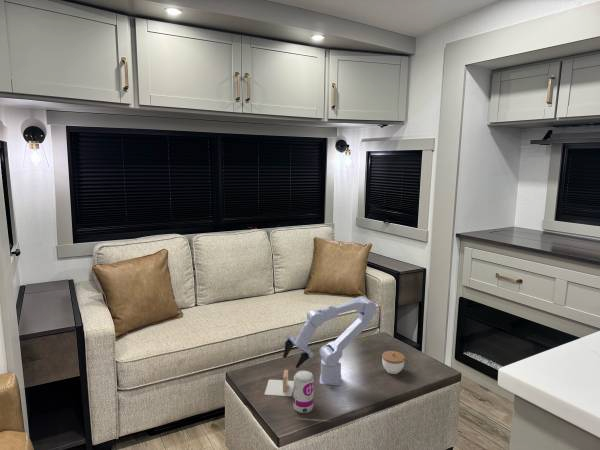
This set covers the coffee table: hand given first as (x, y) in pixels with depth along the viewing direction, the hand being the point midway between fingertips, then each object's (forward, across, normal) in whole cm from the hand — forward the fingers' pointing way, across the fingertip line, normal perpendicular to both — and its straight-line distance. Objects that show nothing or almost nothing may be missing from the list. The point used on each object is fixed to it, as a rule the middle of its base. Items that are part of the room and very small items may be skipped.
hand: (290, 362), depth 181 cm
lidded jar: (-16, +32, +39) cm, 53 cm away
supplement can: (+10, +17, -5) cm, 20 cm away
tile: (+11, +3, +2) cm, 12 cm away
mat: (+13, +1, +2) cm, 13 cm away
